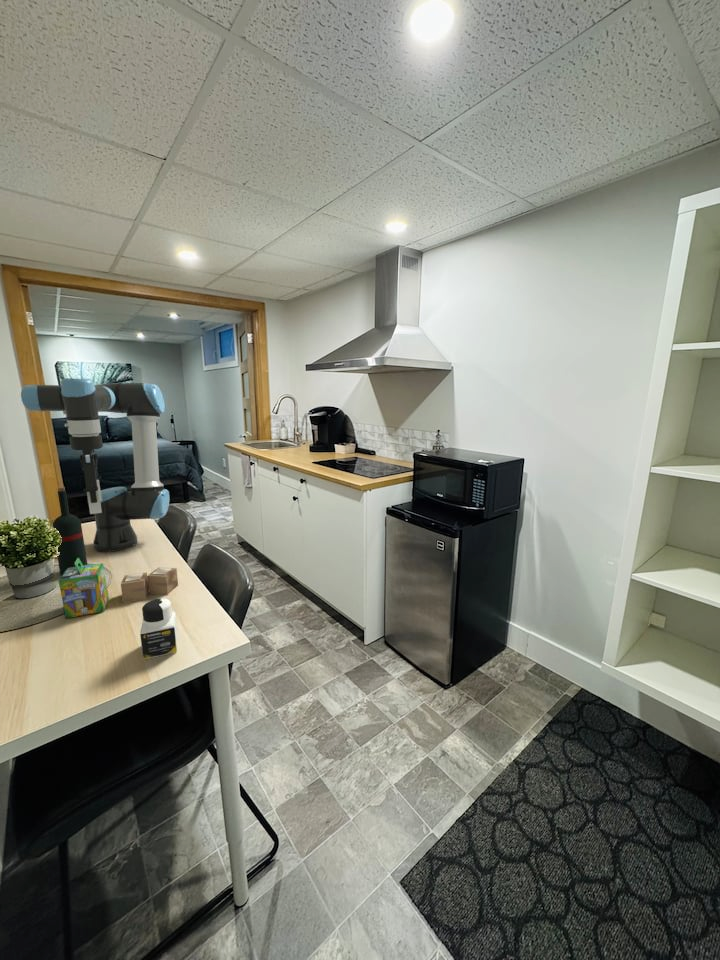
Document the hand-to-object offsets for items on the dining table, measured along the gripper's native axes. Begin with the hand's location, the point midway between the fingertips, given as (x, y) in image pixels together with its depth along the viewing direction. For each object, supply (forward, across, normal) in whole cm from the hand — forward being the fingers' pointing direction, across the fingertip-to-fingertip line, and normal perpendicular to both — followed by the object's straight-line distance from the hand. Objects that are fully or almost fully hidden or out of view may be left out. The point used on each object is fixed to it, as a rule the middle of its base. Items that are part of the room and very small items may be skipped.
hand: (96, 506), depth 115 cm
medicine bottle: (+27, +39, +10) cm, 49 cm away
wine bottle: (+28, -23, -10) cm, 38 cm away
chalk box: (+28, +8, -5) cm, 29 cm away
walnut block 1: (+28, +8, +7) cm, 29 cm away
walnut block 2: (+28, +8, +14) cm, 32 cm away
